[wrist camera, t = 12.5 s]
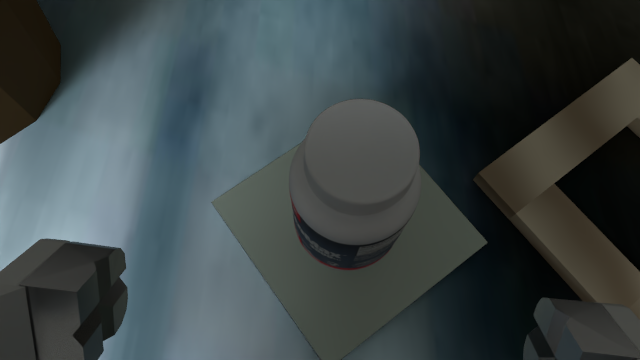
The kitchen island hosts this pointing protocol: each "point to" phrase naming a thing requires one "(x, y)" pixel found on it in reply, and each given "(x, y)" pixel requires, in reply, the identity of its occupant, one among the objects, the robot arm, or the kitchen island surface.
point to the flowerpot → (25, 65)
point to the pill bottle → (354, 183)
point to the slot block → (554, 206)
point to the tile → (344, 286)
